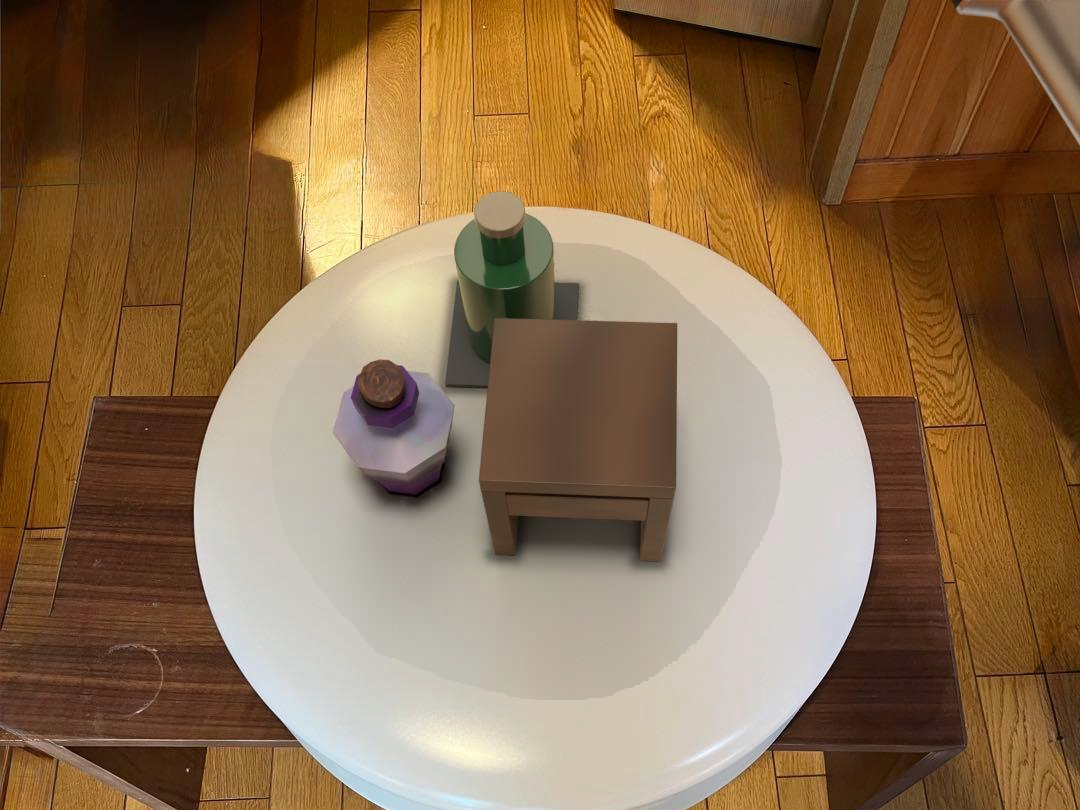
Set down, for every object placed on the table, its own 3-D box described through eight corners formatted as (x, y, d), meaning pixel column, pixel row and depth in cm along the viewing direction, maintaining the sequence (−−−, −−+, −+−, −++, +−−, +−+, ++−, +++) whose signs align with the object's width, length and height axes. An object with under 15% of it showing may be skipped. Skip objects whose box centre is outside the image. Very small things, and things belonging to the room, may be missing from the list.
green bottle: (563, 301, 78) (560, 175, 65) (548, 375, 75) (541, 258, 63) (478, 291, 79) (459, 164, 66) (460, 363, 76) (437, 245, 63)
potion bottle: (345, 429, 75) (304, 339, 64) (454, 405, 75) (432, 310, 64) (363, 528, 71) (323, 451, 60) (477, 502, 72) (458, 420, 61)
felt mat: (578, 286, 79) (578, 282, 79) (573, 391, 75) (572, 388, 75) (457, 282, 80) (457, 279, 79) (445, 386, 76) (444, 384, 75)
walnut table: (663, 416, 74) (677, 322, 63) (661, 561, 69) (676, 488, 58) (507, 411, 75) (494, 317, 64) (494, 554, 70) (478, 480, 59)
